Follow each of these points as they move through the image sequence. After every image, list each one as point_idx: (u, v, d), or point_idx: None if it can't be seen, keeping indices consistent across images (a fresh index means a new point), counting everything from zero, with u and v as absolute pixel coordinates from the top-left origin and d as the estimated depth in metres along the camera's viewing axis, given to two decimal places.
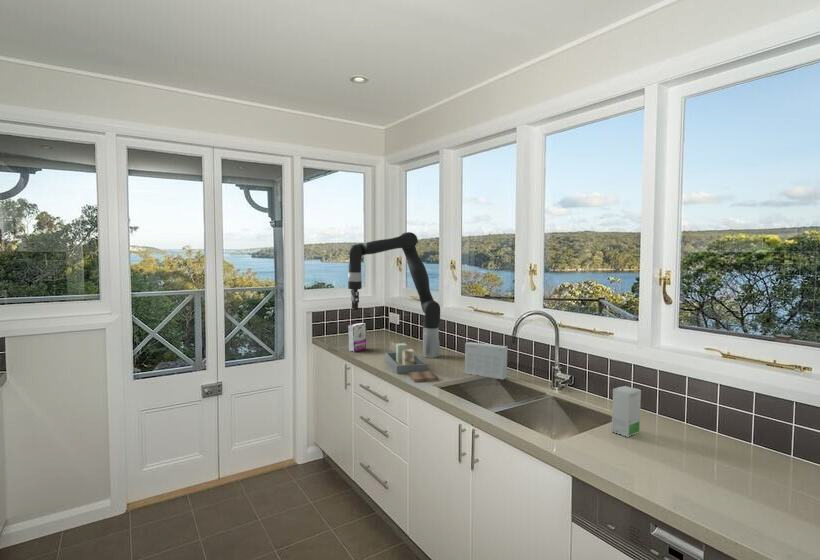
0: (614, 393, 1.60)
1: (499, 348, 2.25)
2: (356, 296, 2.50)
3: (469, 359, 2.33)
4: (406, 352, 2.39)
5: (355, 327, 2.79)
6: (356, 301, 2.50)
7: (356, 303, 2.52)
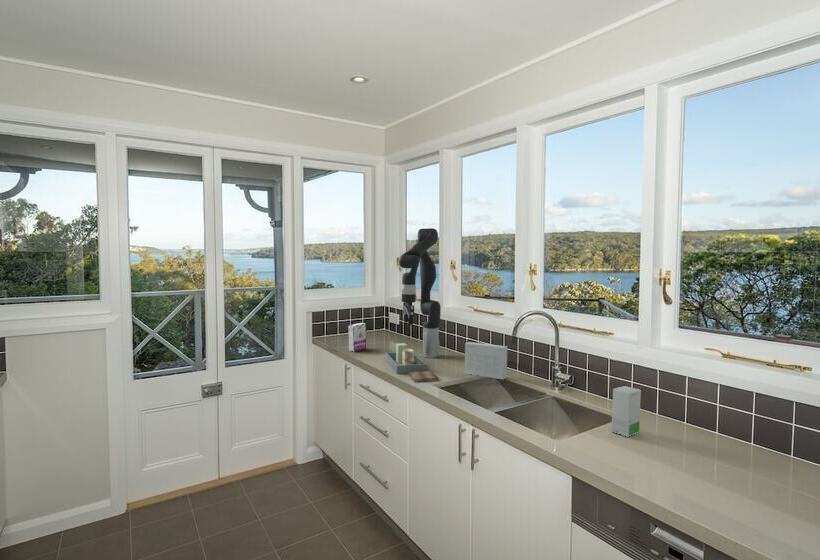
0: (614, 393, 1.60)
1: (499, 348, 2.25)
2: (411, 310, 2.34)
3: (469, 359, 2.33)
4: (406, 352, 2.39)
5: (355, 327, 2.79)
6: (411, 315, 2.34)
7: (411, 317, 2.35)
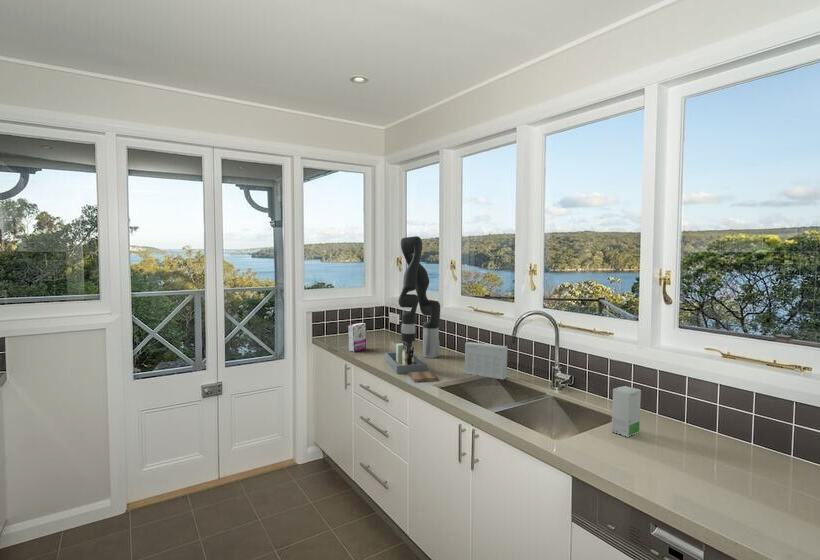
0: (614, 393, 1.60)
1: (499, 348, 2.25)
2: (411, 351, 2.36)
3: (469, 359, 2.33)
4: None
5: (355, 327, 2.79)
6: (410, 356, 2.37)
7: (410, 358, 2.38)
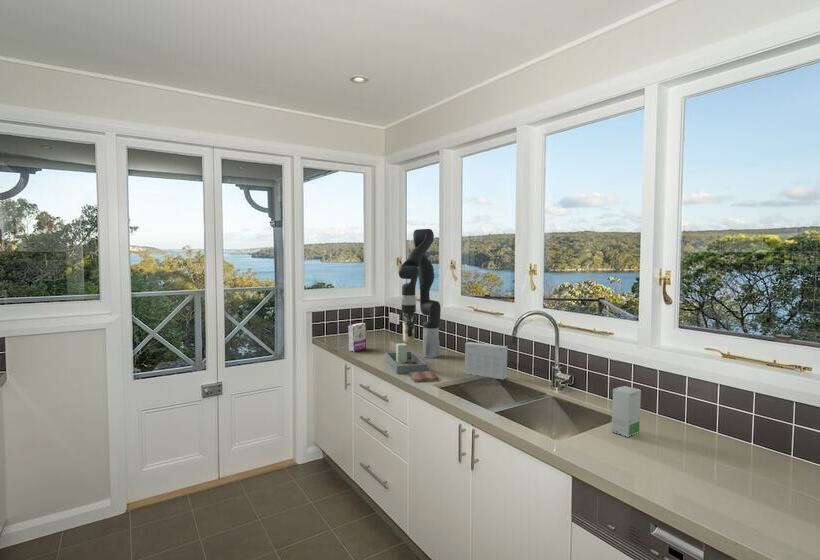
0: (614, 393, 1.60)
1: (499, 348, 2.25)
2: (411, 323, 2.35)
3: (469, 359, 2.33)
4: (406, 324, 2.38)
5: (355, 327, 2.79)
6: (411, 327, 2.36)
7: (410, 329, 2.37)
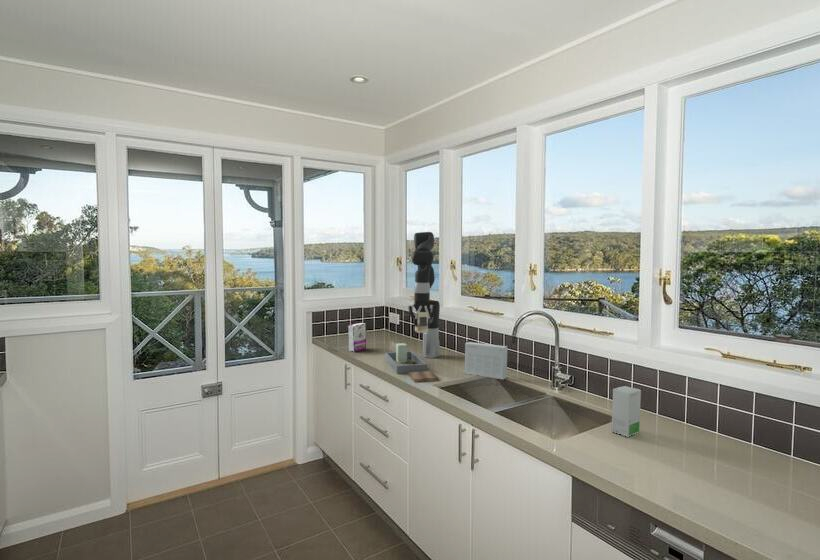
0: (614, 393, 1.60)
1: (499, 348, 2.25)
2: (409, 310, 2.23)
3: (469, 359, 2.33)
4: None
5: (355, 327, 2.79)
6: (410, 315, 2.23)
7: None
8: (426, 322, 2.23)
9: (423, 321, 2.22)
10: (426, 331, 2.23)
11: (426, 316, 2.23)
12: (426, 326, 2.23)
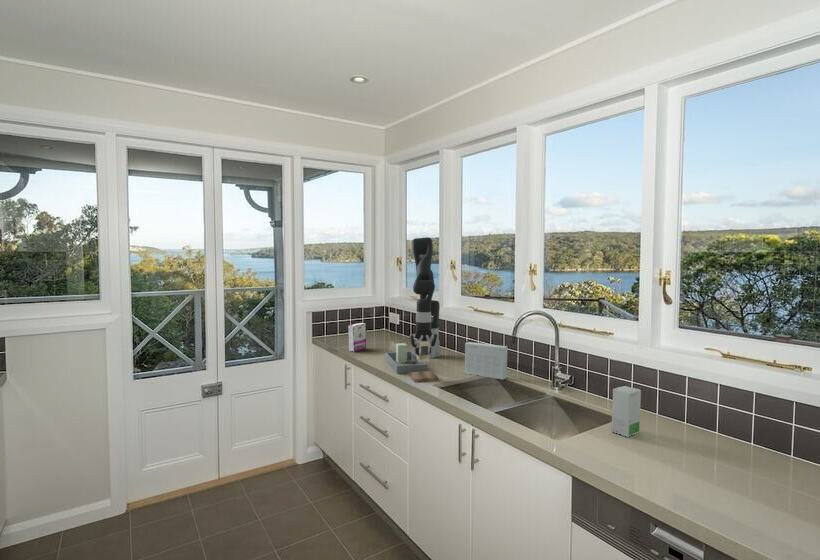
0: (614, 393, 1.60)
1: (499, 348, 2.25)
2: (411, 339, 2.23)
3: (469, 359, 2.33)
4: None
5: (355, 327, 2.79)
6: (412, 344, 2.24)
7: (415, 347, 2.24)
8: (428, 351, 2.23)
9: (424, 350, 2.23)
10: (428, 360, 2.24)
11: (428, 345, 2.23)
12: (428, 355, 2.23)
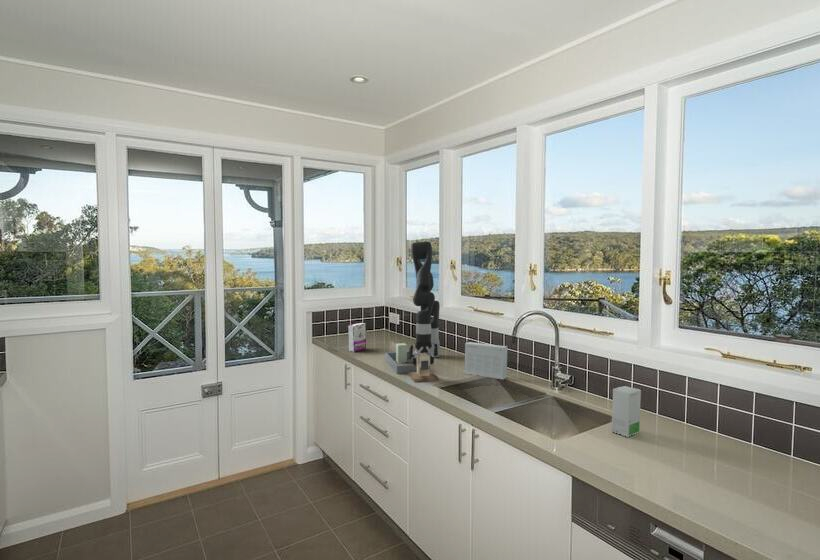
0: (614, 393, 1.60)
1: (499, 348, 2.25)
2: (409, 349, 2.23)
3: (469, 359, 2.33)
4: (417, 355, 2.26)
5: (355, 327, 2.79)
6: (409, 355, 2.24)
7: (412, 357, 2.24)
8: (428, 366, 2.24)
9: (425, 365, 2.23)
10: (428, 374, 2.24)
11: (428, 360, 2.24)
12: (428, 370, 2.24)
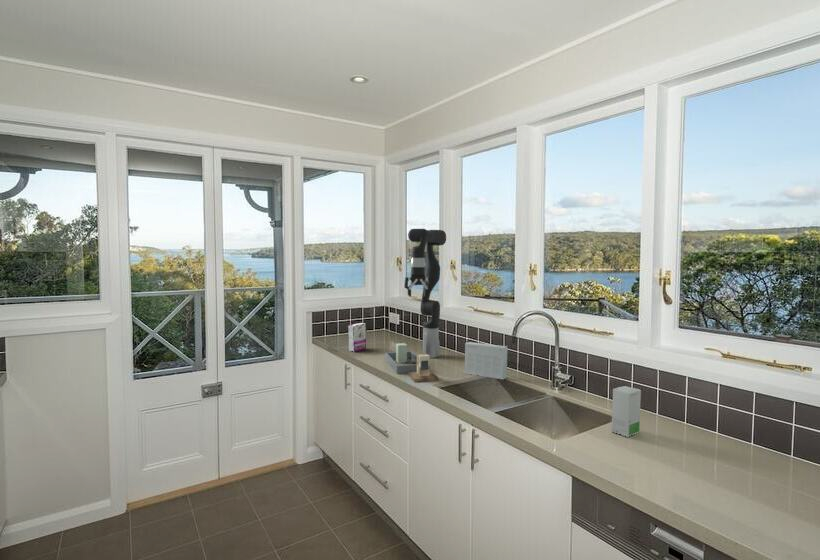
0: (614, 393, 1.60)
1: (499, 348, 2.25)
2: (405, 281, 2.43)
3: (469, 359, 2.33)
4: (417, 355, 2.26)
5: (355, 327, 2.79)
6: (404, 286, 2.43)
7: None
8: (428, 366, 2.24)
9: (425, 365, 2.23)
10: (428, 374, 2.24)
11: (428, 360, 2.24)
12: (428, 370, 2.24)
